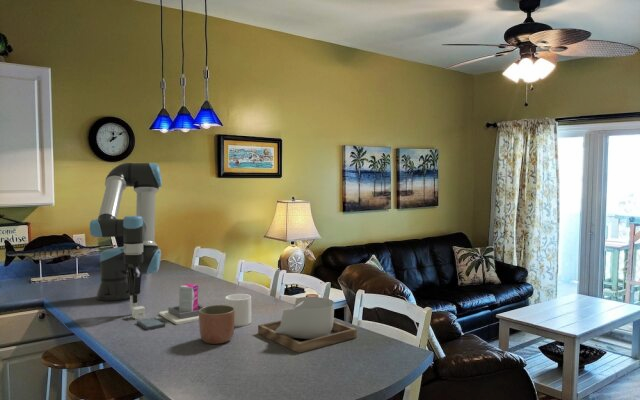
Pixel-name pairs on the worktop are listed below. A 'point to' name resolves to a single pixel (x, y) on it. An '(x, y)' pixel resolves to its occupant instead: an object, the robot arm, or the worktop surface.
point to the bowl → (308, 318)
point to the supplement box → (188, 298)
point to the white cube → (138, 312)
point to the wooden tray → (342, 335)
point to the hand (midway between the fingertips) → (134, 310)
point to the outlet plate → (180, 315)
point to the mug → (240, 308)
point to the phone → (150, 323)
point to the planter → (216, 323)
